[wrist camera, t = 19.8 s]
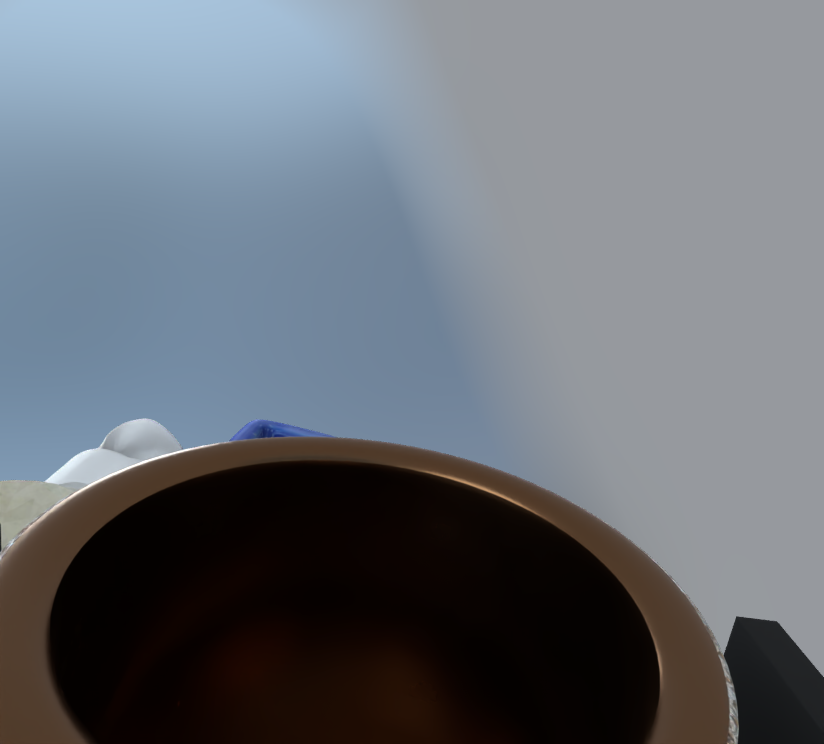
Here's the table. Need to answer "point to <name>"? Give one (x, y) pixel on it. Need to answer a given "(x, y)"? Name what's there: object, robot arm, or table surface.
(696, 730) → the planter
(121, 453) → the elephant figurine
